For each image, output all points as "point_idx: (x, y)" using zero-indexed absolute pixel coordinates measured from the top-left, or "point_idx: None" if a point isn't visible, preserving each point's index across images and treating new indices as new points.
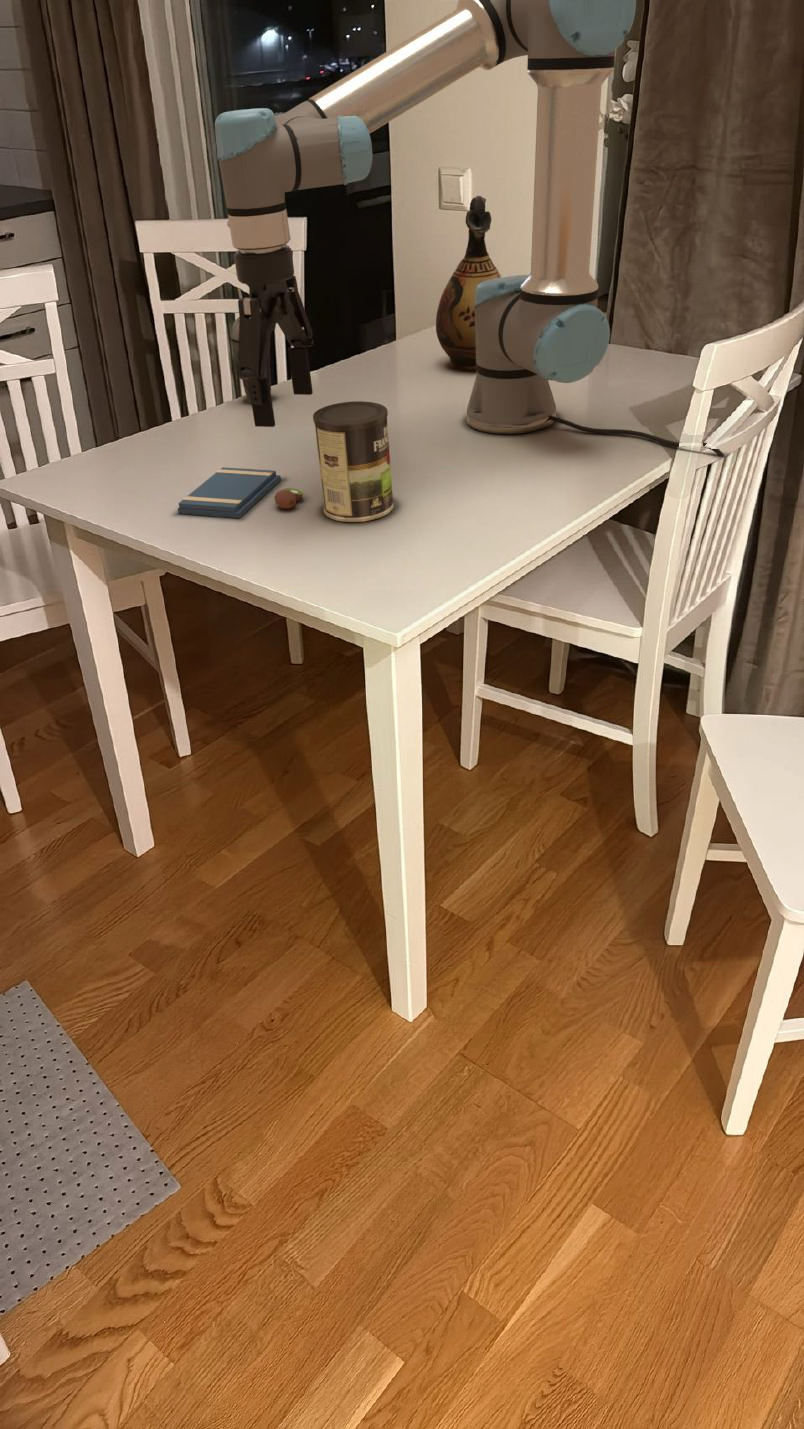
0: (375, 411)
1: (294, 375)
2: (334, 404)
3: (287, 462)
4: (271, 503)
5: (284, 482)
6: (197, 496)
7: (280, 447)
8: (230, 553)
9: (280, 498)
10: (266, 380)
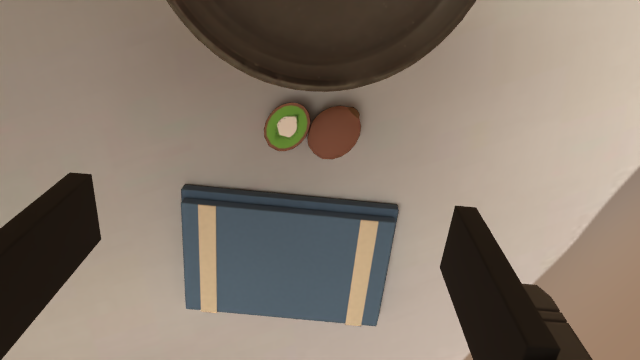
0: None
1: (58, 274)
2: (199, 29)
3: None
4: (313, 165)
5: (194, 173)
6: (342, 305)
7: None
8: (569, 168)
9: (355, 140)
10: (554, 341)
